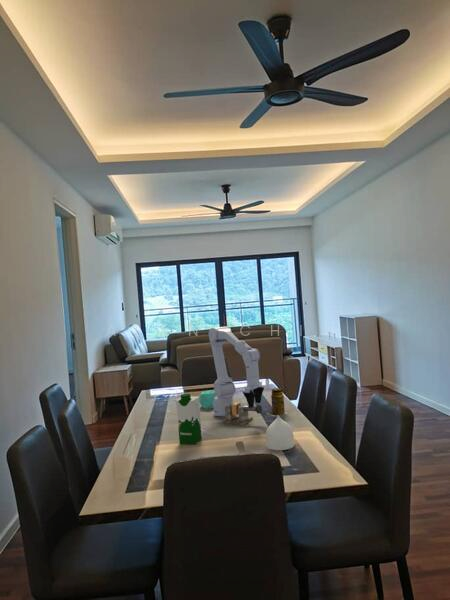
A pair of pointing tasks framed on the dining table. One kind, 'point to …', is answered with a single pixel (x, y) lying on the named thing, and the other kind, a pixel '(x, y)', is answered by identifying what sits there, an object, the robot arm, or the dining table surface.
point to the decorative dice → (207, 399)
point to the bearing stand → (241, 416)
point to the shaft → (251, 408)
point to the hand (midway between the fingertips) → (254, 405)
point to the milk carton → (188, 419)
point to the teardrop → (279, 435)
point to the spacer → (235, 408)
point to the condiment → (277, 402)
